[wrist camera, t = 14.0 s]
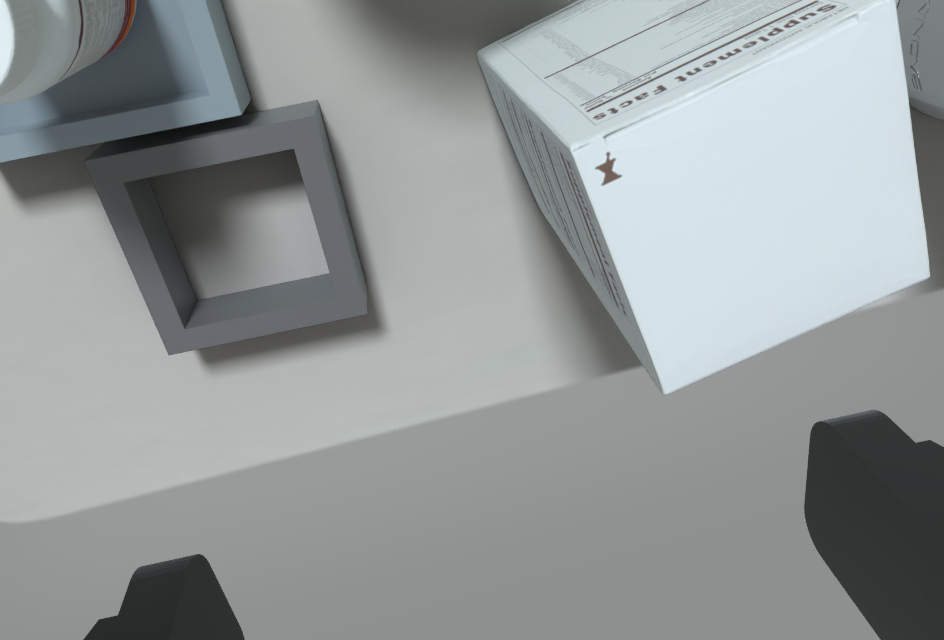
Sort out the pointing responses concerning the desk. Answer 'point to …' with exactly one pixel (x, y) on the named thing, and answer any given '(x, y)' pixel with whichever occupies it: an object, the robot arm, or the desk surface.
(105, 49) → the pill bottle
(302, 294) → the gray hollow square frame
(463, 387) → the desk surface
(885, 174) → the supplement box
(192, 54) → the parts tray
